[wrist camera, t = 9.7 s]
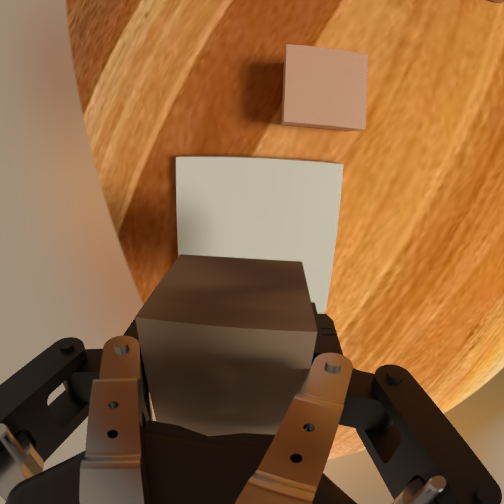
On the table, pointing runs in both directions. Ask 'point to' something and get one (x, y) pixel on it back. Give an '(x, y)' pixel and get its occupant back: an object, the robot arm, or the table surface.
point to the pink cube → (324, 88)
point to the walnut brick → (227, 343)
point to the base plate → (261, 212)
